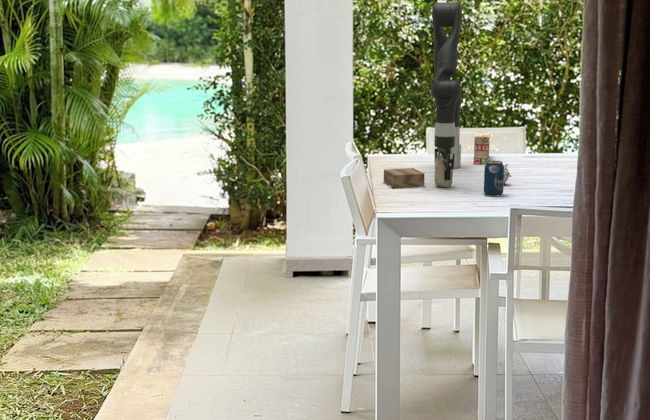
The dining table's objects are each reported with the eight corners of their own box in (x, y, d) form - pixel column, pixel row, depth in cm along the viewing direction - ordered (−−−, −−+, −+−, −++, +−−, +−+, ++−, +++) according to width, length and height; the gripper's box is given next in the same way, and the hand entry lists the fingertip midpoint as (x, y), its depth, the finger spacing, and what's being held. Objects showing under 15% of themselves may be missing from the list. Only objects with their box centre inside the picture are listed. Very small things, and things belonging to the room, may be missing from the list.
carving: (456, 186, 364) (457, 154, 361) (444, 189, 358) (445, 157, 356) (442, 184, 368) (443, 153, 365) (430, 187, 363) (431, 155, 360)
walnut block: (412, 180, 375) (413, 167, 373) (424, 186, 363) (424, 173, 362) (383, 182, 371) (383, 169, 370) (394, 188, 360) (394, 175, 359)
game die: (502, 193, 369) (518, 172, 368) (499, 189, 361) (515, 168, 360) (483, 180, 372) (499, 159, 371) (480, 176, 364) (496, 154, 363)
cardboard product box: (474, 156, 428) (475, 128, 425) (489, 156, 427) (490, 129, 424) (473, 165, 408) (474, 136, 405) (488, 165, 407) (489, 136, 404)
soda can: (498, 197, 345) (499, 164, 342) (480, 195, 348) (481, 162, 346) (505, 193, 350) (507, 161, 348) (488, 191, 354) (489, 159, 351)
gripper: (461, 136, 353) (460, 181, 357) (446, 131, 366) (445, 174, 370) (442, 137, 351) (441, 182, 355) (428, 132, 364) (427, 175, 368)
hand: (443, 178), depth 362 cm, fingers closed on carving, 6 cm apart
